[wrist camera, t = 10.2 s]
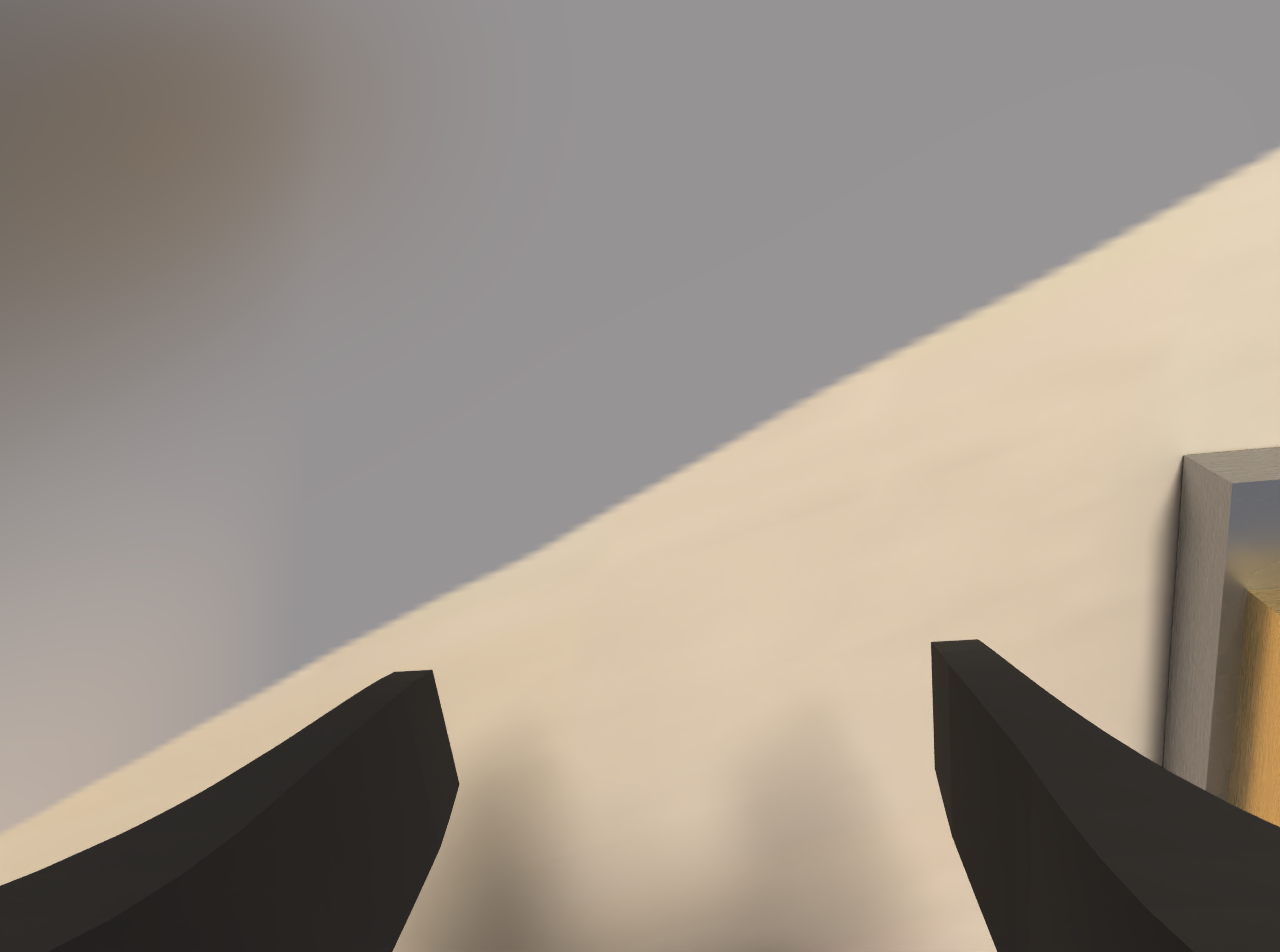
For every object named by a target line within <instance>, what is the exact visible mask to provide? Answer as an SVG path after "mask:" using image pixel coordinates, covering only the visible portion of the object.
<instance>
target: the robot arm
mask: <svg viewBox="0 0 1280 952" xmlns="http://www.w3.org/2000/svg"><path fill="white" fill-rule="evenodd" d="M931 656H932V689H933V722H934V755H935V771H936V775H937V779H938V783H939V787H940V791H941V795H942V799H943V803H944V807H945V811H946V815H947V818H948V822H949V826H950V830H951V834H952V837H953V840H954V842H955V845H956V848H957V850H958V853H959V855H960V858H961V861H962V863H963V866H964V868H965V871H966V873H967V876H968V879H969V881H970V884H971V886H972V889H973V891H974V894H975V896H976V899H977V901H978V904H979V907H980V909H981V912H982V914H983V917H984V919H985V922H986V924H987V927H988V929H989V932H990V934H991V937H992V939H993V942H994V944H995V947H996V950H997V952H1280V827H1279V826H1277V825H1274V824H1272V823H1270V822H1268V821H1265V820H1263V819H1261V818H1259V817H1257V816H1255V815H1253V814H1251V813H1249V812H1247V811H1244V810H1242V809H1240V808H1238V807H1236V806H1234V805H1232V804H1230V803H1228V802H1226V801H1224V800H1222V799H1220V798H1218V797H1217V796H1215V795H1213V794H1211V793H1209V792H1207V791H1205V790H1203V789H1202V788H1200V787H1198V786H1196V785H1194V784H1192V783H1190V782H1188V781H1186V780H1185V779H1183V778H1181V777H1179V776H1177V775H1175V774H1173V773H1172V772H1170V771H1168V770H1166V769H1165V768H1163V767H1161V766H1159V765H1158V764H1156V763H1154V762H1152V761H1151V760H1149V759H1147V758H1146V757H1144V756H1143V755H1141V754H1139V753H1138V752H1136V751H1135V750H1133V749H1131V748H1130V747H1128V746H1127V745H1125V744H1123V743H1122V742H1120V741H1119V740H1117V739H1115V738H1114V737H1112V736H1111V735H1109V734H1107V733H1106V732H1104V731H1103V730H1101V729H1100V728H1098V727H1097V726H1095V725H1094V724H1092V723H1091V722H1089V721H1088V720H1086V719H1085V718H1083V717H1082V716H1081V715H1079V714H1078V713H1076V712H1075V711H1073V710H1072V709H1071V708H1069V707H1068V706H1066V705H1065V704H1064V703H1062V702H1061V701H1059V700H1058V699H1057V698H1055V697H1054V696H1052V695H1051V694H1050V693H1048V692H1047V691H1046V690H1044V689H1043V688H1042V687H1040V686H1039V685H1038V684H1036V683H1035V682H1034V681H1032V680H1031V679H1030V678H1028V677H1027V676H1026V675H1024V674H1023V673H1022V672H1020V671H1019V670H1018V669H1016V668H1015V667H1014V666H1013V665H1011V664H1010V663H1009V662H1007V661H1006V660H1005V659H1004V658H1002V657H1001V656H1000V655H998V654H997V653H996V652H994V651H993V650H992V649H990V648H989V647H988V646H986V645H985V644H984V643H982V642H981V641H980V640H978V639H977V640H959V641H941V642H931ZM458 787H459V781H458V776H457V772H456V768H455V764H454V759H453V755H452V751H451V747H450V743H449V738H448V734H447V730H446V726H445V721H444V717H443V713H442V709H441V704H440V700H439V696H438V692H437V688H436V683H435V679H434V675H433V671H432V670H422V671H404V672H393V673H392V674H390V675H388V676H386V677H384V678H382V679H380V680H378V681H376V682H375V683H373V684H371V685H370V686H368V687H366V688H365V689H363V690H362V691H360V692H359V693H357V694H355V695H354V696H352V697H351V698H349V699H348V700H346V701H345V702H343V703H342V704H340V705H339V706H337V707H336V708H334V709H333V710H331V711H329V712H328V713H326V714H325V715H323V716H322V717H320V718H319V719H317V720H316V721H314V722H313V723H311V724H310V725H308V726H307V727H305V728H304V729H302V730H301V731H299V732H298V733H296V734H295V735H293V736H292V737H290V738H289V739H287V740H286V741H284V742H282V743H281V744H279V745H278V746H276V747H275V748H273V749H271V750H270V751H268V752H266V753H265V754H263V755H262V756H260V757H258V758H257V759H255V760H253V761H252V762H250V763H249V764H247V765H245V766H244V767H242V768H240V769H239V770H237V771H236V772H234V773H232V774H231V775H229V776H227V777H226V778H224V779H223V780H221V781H219V782H218V783H216V784H214V785H213V786H211V787H209V788H207V789H206V790H204V791H202V792H200V793H199V794H197V795H195V796H193V797H191V798H190V799H188V800H186V801H184V802H182V803H181V804H179V805H177V806H175V807H173V808H171V809H169V810H167V811H165V812H163V813H161V814H159V815H158V816H156V817H154V818H152V819H150V820H148V821H146V822H144V823H142V824H140V825H138V826H136V827H134V828H132V829H130V830H128V831H126V832H124V833H122V834H120V835H117V836H115V837H113V838H111V839H109V840H106V841H104V842H102V843H100V844H97V845H95V846H93V847H91V848H89V849H86V850H84V851H82V852H80V853H77V854H75V855H73V856H71V857H68V858H66V859H64V860H62V861H60V862H57V863H55V864H53V865H51V866H48V867H46V868H44V869H41V870H39V871H37V872H34V873H32V874H29V875H27V876H24V877H22V878H19V879H17V880H14V881H12V882H9V883H7V884H4V885H1V886H0V952H392V951H393V949H394V947H395V945H396V943H397V940H398V938H399V936H400V934H401V932H402V930H403V928H404V926H405V923H406V921H407V919H408V917H409V915H410V913H411V911H412V908H413V906H414V904H415V902H416V900H417V898H418V896H419V893H420V891H421V889H422V887H423V885H424V882H425V880H426V878H427V876H428V874H429V871H430V869H431V867H432V865H433V863H434V860H435V858H436V856H437V854H438V851H439V849H440V847H441V844H442V840H443V837H444V834H445V831H446V828H447V825H448V822H449V819H450V815H451V812H452V808H453V805H454V801H455V798H456V794H457V791H458Z"/></svg>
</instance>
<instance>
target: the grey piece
mask: <svg viewBox="0 0 1280 952" xmlns="http://www.w3.org/2000/svg"><path fill="white" fill-rule="evenodd" d="M1163 768H1165V769H1166V770H1168V771H1170V772H1172V773H1173V774H1175V775H1177V776H1179V777H1181V778H1183V779H1185V780H1186V781H1188V782H1190V783H1192V784H1194V785H1196V786H1198V787H1200V788H1202V789H1203V790H1205V791H1207V792H1209V793H1211V794H1213V795H1215V796H1217V797H1218V798H1220V799H1222V800H1224V801H1226V802H1228V803H1230V804H1232V805H1234V806H1236V807H1238V808H1240V809H1242V810H1244V811H1247V812H1249V813H1251V814H1253V815H1255V816H1257V817H1259V818H1261V819H1263V820H1265V821H1268V822H1270V823H1272V824H1274V825H1277V826H1279V827H1280V447H1274V448H1262V449H1250V450H1238V451H1227V452H1215V453H1203V454H1191V455H1184V463H1183V478H1182V492H1181V507H1180V522H1179V537H1178V551H1177V566H1176V581H1175V596H1174V610H1173V625H1172V640H1171V655H1170V669H1169V684H1168V699H1167V714H1166V728H1165V743H1164V758H1163Z"/></svg>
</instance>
